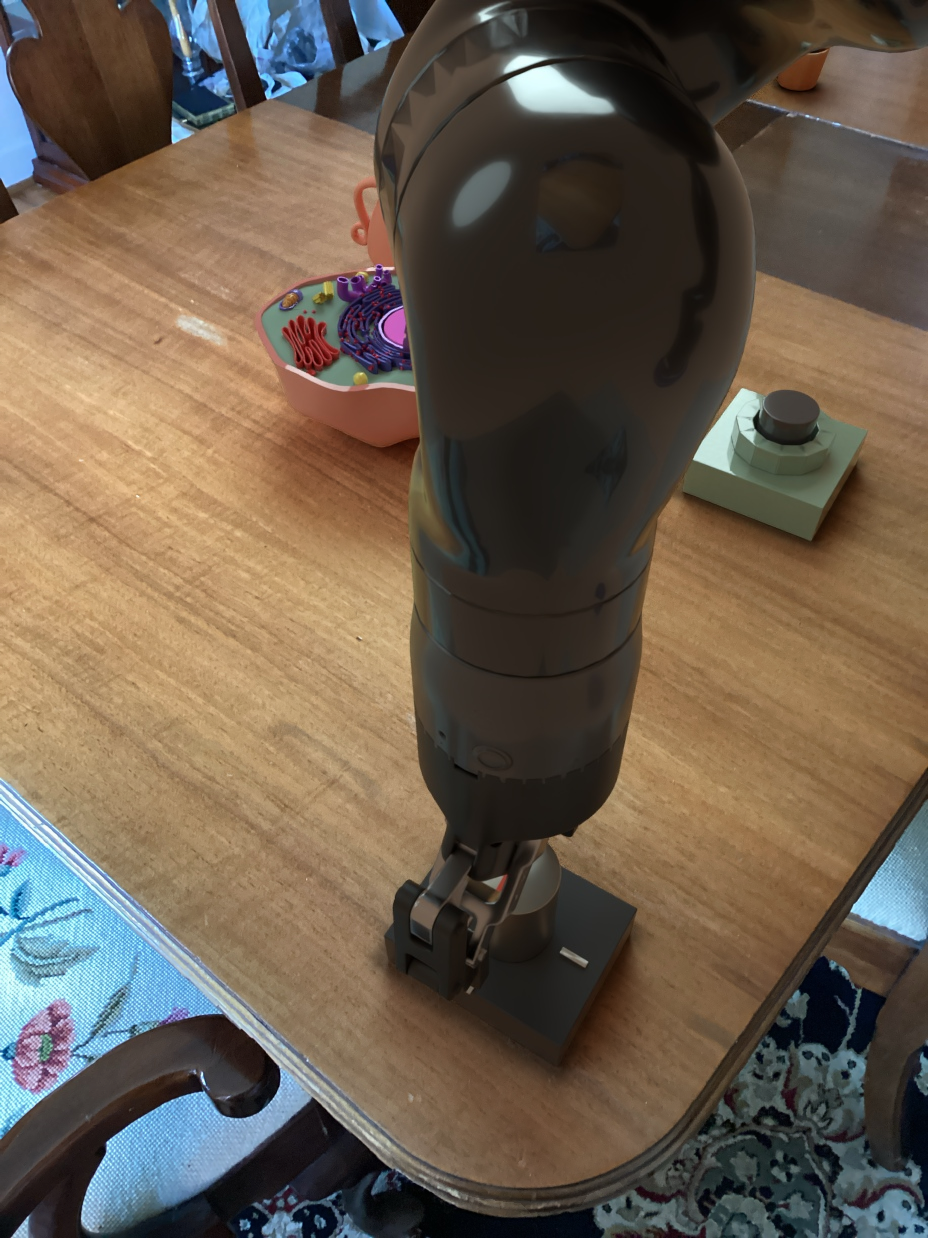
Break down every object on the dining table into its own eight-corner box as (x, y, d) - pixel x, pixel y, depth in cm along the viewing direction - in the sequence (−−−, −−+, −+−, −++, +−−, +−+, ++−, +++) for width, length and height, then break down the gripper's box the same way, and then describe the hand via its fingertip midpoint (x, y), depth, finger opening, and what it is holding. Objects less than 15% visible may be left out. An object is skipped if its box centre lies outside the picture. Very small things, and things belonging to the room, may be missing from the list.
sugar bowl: (484, 311, 91) (485, 202, 83) (336, 295, 92) (323, 187, 85) (507, 243, 98) (510, 138, 91) (370, 230, 100) (362, 125, 92)
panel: (632, 929, 52) (640, 903, 50) (554, 1072, 48) (559, 1050, 45) (471, 838, 56) (471, 810, 54) (385, 962, 51) (380, 937, 49)
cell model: (328, 332, 89) (312, 210, 80) (540, 383, 83) (548, 258, 75) (228, 446, 78) (198, 320, 70) (463, 512, 73) (461, 384, 65)
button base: (856, 463, 77) (875, 410, 73) (811, 541, 71) (830, 489, 67) (733, 420, 80) (746, 367, 76) (682, 491, 75) (693, 438, 71)
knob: (494, 868, 51) (496, 812, 47) (568, 906, 50) (577, 851, 46) (454, 937, 49) (452, 884, 45) (530, 978, 48) (535, 928, 43)
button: (820, 423, 72) (828, 400, 71) (801, 453, 70) (808, 430, 69) (768, 405, 74) (774, 382, 72) (747, 434, 72) (753, 411, 70)
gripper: (528, 517, 39) (516, 749, 51) (306, 785, 31) (354, 984, 43) (708, 589, 36) (650, 816, 49) (514, 902, 28) (504, 1079, 41)
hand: (511, 895), depth 46 cm, fingers open, 8 cm apart
